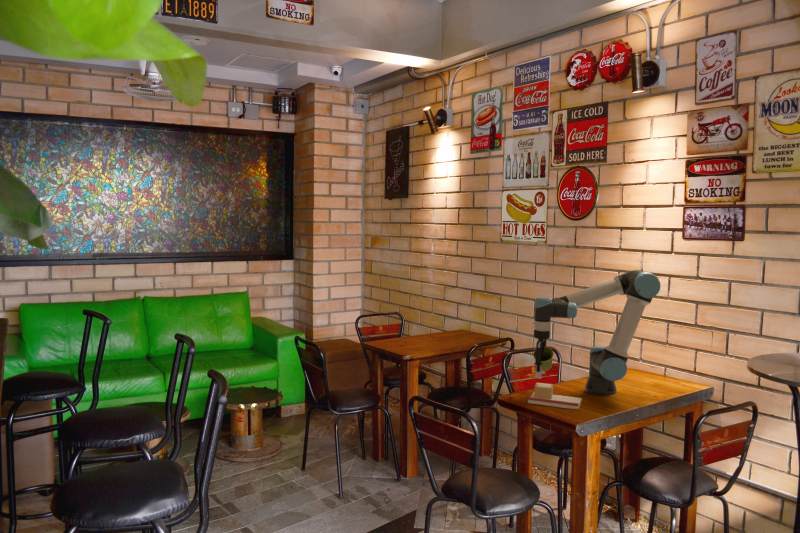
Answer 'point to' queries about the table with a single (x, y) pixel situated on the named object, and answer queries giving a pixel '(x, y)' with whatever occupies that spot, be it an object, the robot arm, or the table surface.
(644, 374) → the table surface
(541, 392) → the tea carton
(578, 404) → the shelf board
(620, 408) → the table surface
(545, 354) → the plant pot
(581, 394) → the table surface
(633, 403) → the table surface
